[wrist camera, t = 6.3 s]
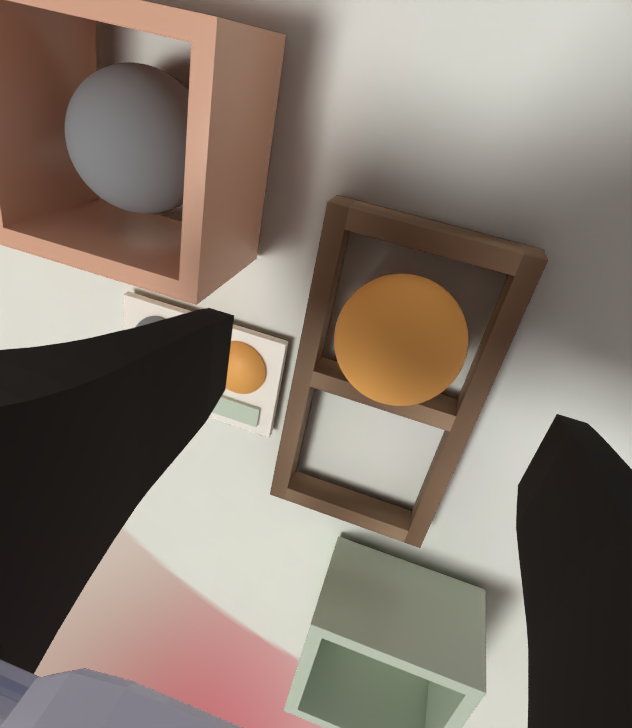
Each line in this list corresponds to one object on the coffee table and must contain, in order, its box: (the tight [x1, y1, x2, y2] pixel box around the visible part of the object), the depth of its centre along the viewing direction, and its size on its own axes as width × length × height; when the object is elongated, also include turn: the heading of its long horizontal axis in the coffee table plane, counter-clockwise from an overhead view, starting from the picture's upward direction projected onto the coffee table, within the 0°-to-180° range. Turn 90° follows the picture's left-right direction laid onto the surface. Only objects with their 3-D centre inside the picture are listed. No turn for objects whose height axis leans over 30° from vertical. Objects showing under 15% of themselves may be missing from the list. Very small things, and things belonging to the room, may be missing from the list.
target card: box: [124, 292, 289, 438], centre depth 18 cm, size 6×4×1 cm, turn 79°
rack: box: [270, 195, 548, 548], centre depth 16 cm, size 6×11×1 cm, turn 169°
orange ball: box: [334, 273, 468, 406], centre depth 14 cm, size 4×4×4 cm
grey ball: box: [65, 63, 189, 214], centre depth 13 cm, size 4×4×4 cm
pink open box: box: [0, 0, 286, 305], centre depth 13 cm, size 6×6×4 cm
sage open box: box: [284, 536, 486, 728], centre depth 20 cm, size 6×6×4 cm
